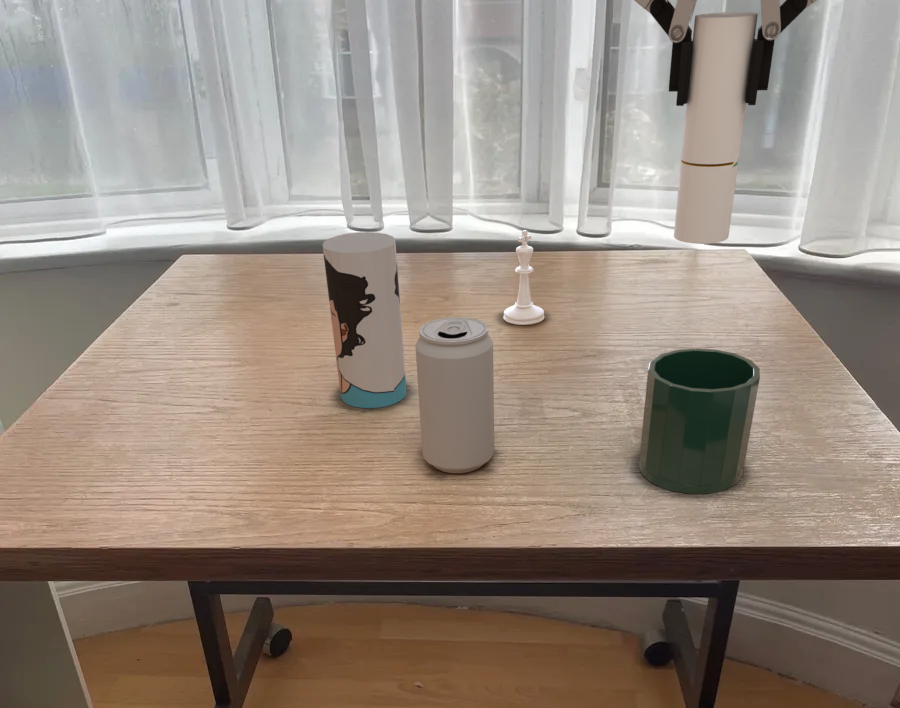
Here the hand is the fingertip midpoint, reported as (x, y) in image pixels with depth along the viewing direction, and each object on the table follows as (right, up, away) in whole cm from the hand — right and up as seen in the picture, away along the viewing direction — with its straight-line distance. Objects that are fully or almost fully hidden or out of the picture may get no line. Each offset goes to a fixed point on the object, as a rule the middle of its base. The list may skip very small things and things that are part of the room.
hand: (716, 99), depth 67 cm
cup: (-28, -16, +25) cm, 41 cm away
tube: (0, -8, +6) cm, 10 cm away
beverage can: (-19, -25, +14) cm, 34 cm away
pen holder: (+1, -26, +11) cm, 28 cm away
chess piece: (-11, -3, +41) cm, 43 cm away
